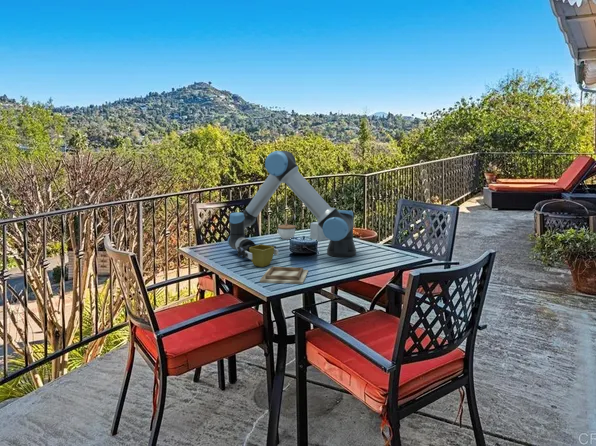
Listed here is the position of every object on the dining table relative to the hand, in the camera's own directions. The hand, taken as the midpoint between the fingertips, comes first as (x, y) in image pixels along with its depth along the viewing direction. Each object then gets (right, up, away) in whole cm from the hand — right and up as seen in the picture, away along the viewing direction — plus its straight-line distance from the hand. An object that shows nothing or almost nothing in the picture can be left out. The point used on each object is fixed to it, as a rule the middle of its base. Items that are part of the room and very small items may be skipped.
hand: (264, 254), depth 207 cm
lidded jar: (+9, +5, +65) cm, 66 cm away
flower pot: (-2, -6, +4) cm, 7 cm away
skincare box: (+28, +5, +62) cm, 68 cm away
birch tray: (+10, -9, -15) cm, 20 cm away
